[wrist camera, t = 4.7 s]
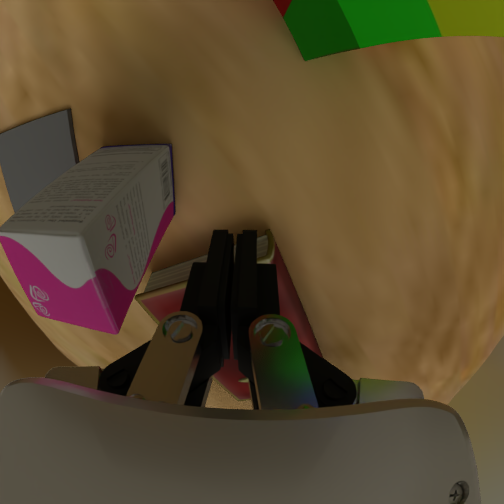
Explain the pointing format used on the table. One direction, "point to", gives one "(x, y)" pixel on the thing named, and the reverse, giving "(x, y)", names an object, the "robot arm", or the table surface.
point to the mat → (37, 155)
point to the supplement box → (93, 234)
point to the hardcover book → (229, 377)
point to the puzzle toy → (384, 22)
